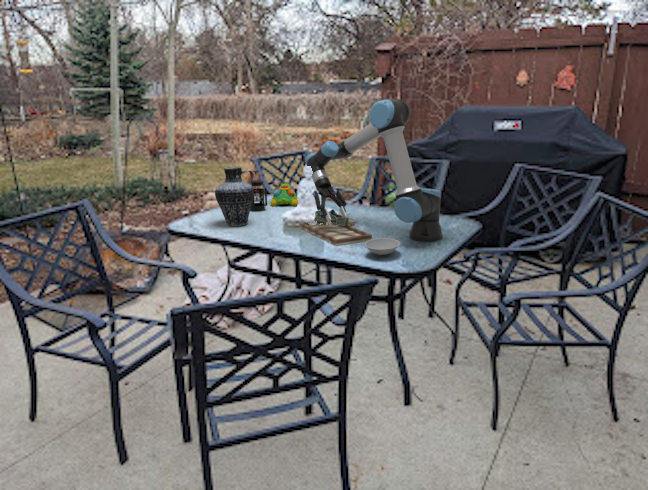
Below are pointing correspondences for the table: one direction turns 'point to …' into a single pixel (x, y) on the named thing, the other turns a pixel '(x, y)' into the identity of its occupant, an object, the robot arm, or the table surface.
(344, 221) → the hoverbike
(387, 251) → the dish
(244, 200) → the jug
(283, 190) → the turtle toy
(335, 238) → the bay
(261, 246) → the table surface
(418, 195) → the robot arm
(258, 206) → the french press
